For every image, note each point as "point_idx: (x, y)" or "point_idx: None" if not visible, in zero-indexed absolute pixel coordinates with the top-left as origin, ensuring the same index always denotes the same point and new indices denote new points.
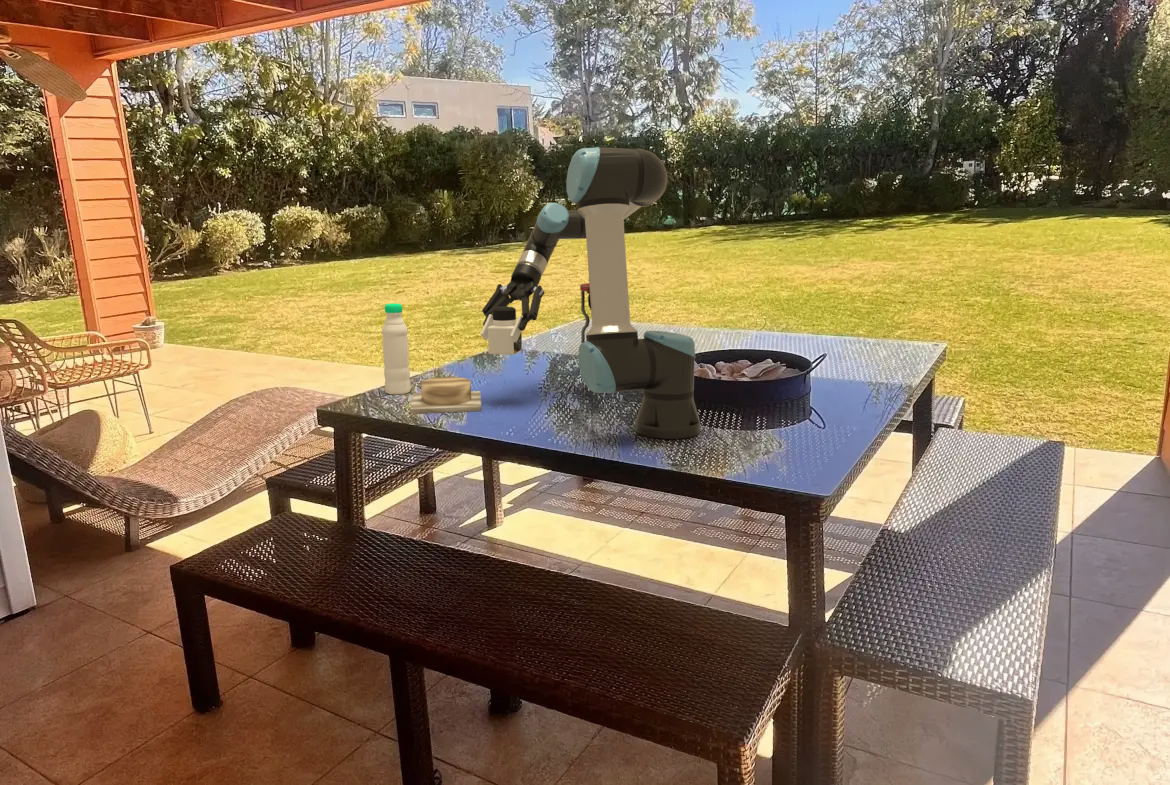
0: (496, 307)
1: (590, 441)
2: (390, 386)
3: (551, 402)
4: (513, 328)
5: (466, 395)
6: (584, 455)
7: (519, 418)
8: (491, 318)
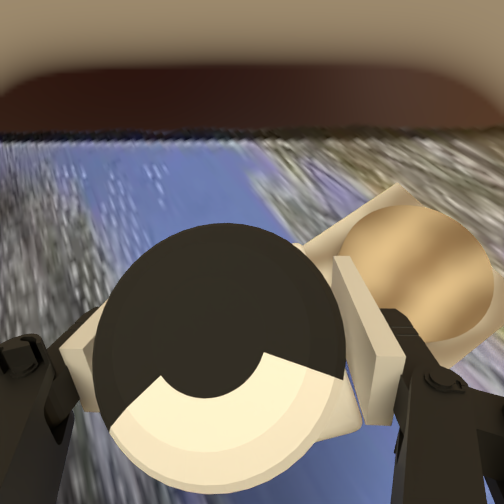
0: (278, 275)
1: (22, 193)
2: None
3: None
4: None
5: None
6: (22, 142)
7: None
8: (364, 348)
